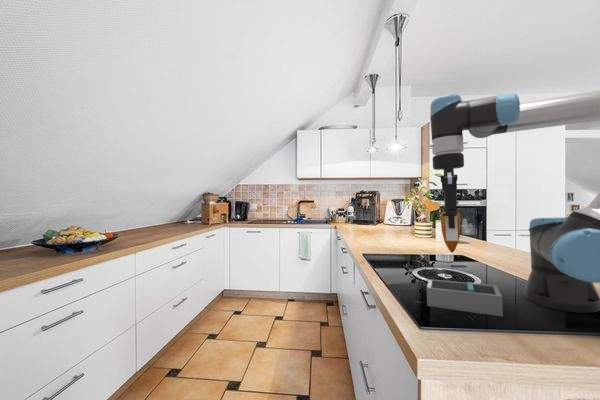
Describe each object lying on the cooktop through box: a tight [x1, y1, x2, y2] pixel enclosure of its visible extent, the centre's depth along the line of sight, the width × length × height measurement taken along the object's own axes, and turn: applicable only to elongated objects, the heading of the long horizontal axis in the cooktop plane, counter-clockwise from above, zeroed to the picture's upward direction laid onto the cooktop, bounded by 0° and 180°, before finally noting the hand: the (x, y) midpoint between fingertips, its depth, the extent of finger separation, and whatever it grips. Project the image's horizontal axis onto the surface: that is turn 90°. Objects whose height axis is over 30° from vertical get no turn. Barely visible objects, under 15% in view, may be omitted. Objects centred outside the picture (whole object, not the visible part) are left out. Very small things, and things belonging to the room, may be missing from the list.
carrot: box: [440, 199, 461, 253], centre depth 74 cm, size 5×5×15 cm
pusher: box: [466, 281, 474, 292], centre depth 74 cm, size 1×6×4 cm, turn 151°
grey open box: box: [426, 278, 504, 317], centre depth 75 cm, size 17×9×5 cm, turn 61°
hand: (451, 238), depth 74 cm, fingers closed on carrot, 5 cm apart
